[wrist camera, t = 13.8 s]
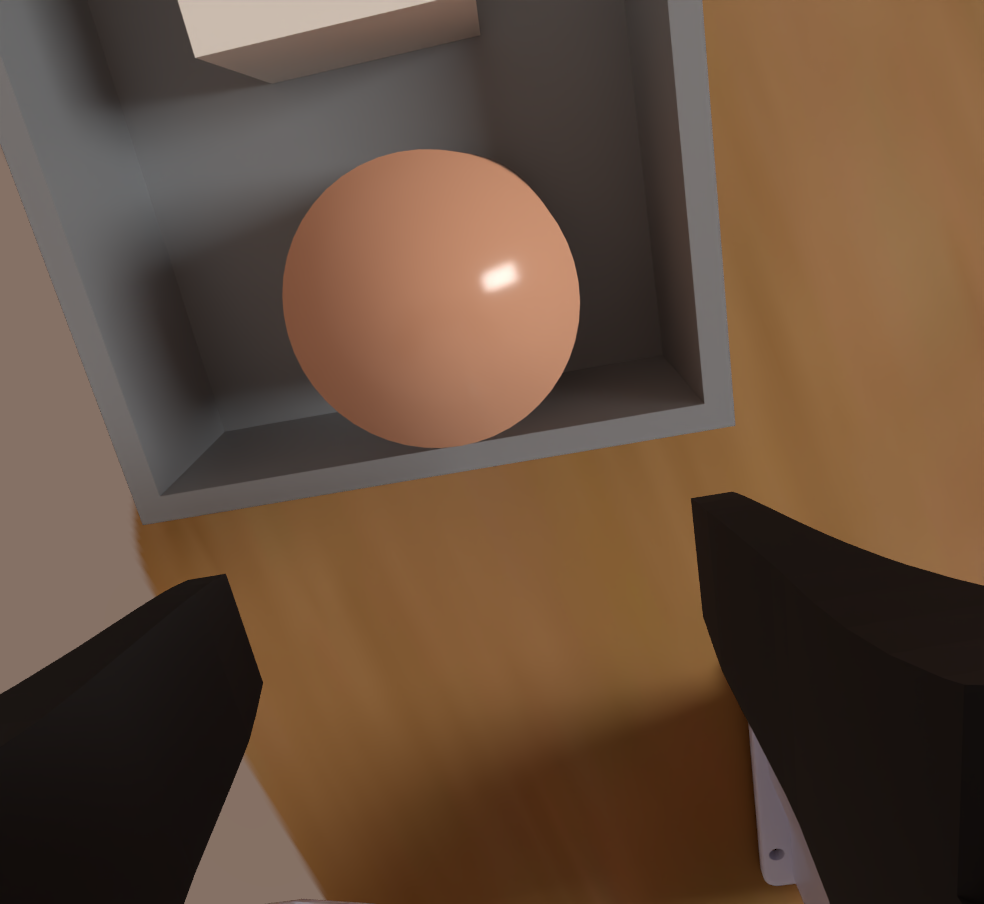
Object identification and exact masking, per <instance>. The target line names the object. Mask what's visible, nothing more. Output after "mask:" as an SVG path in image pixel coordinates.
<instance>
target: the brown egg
mask: <svg viewBox="0 0 984 904" xmlns="http://www.w3.org/2000/svg"><path fill="white" fill-rule="evenodd" d="M282 298H283V311H284V319H285V323H286V328H287V333H288V336H289V339H290V342H291V345H292V348H293V351H294V353H295V355H296V357H297V359H298V362H299V364H300V366H301V368H302V370H303V371H304V373H305V374H306V376H307V377H308V379H309V380H310V382H311V383H312V385H313V386H314V388H315V389H316V390H317V391H318V392H319V393H320V395H321V396H322V397H323V398H324V399H325V400H326V401H327V402H328V403H329V404H330V405H331V406H332V407H333V408H334V409H335V410H336V411H337V412H338V413H340V414H341V415H342V416H344V417H345V418H347V419H348V420H349V421H351V422H352V423H353V424H355V425H357V426H359V427H360V428H362V429H364V430H366V431H368V432H369V433H371V434H374V435H376V436H379V437H381V438H384V439H386V440H389V441H393V442H396V443H400V444H404V445H409V446H416V447H423V448H446V447H456V446H463V445H467V444H471V443H476V442H479V441H482V440H484V439H487V438H490V437H493V436H495V435H497V434H499V433H501V432H503V431H505V430H507V429H509V428H511V427H512V426H513V425H515V424H516V423H518V422H519V421H521V420H522V419H524V418H525V417H526V416H527V415H528V414H530V413H531V412H532V411H533V410H534V409H535V408H536V407H537V406H538V405H539V404H540V403H541V402H542V401H543V400H544V399H545V397H546V396H547V395H548V394H549V393H550V392H551V390H552V389H553V387H554V386H555V384H556V383H557V381H558V380H559V378H560V376H561V375H562V373H563V371H564V369H565V367H566V364H567V362H568V360H569V358H570V355H571V352H572V349H573V346H574V343H575V340H576V334H577V329H578V324H579V311H580V295H579V282H578V277H577V272H576V268H575V263H574V260H573V257H572V254H571V251H570V248H569V246H568V243H567V241H566V239H565V237H564V235H563V233H562V231H561V229H560V227H559V225H558V224H557V222H556V221H555V219H554V218H553V216H552V215H551V214H550V212H549V211H548V209H547V208H546V206H545V205H544V204H543V202H542V201H541V199H540V198H539V197H538V195H537V194H536V193H535V191H534V190H533V189H532V188H531V187H530V186H529V184H528V183H527V182H526V181H525V180H524V179H523V178H521V177H520V176H519V175H518V174H517V173H515V172H514V171H513V170H511V169H510V168H508V167H506V166H505V165H503V164H501V163H499V162H497V161H495V160H493V159H490V158H487V157H484V156H480V155H477V154H470V153H464V152H455V151H447V150H431V149H417V150H409V151H401V152H396V153H392V154H388V155H385V156H381V157H378V158H375V159H373V160H371V161H368V162H366V163H364V164H362V165H359V166H358V167H356V168H354V169H353V170H351V171H350V172H348V173H346V174H345V175H343V176H342V177H340V178H339V179H338V180H337V181H336V182H334V183H333V184H332V185H331V186H330V187H328V188H327V189H326V190H325V191H324V192H323V193H322V195H321V196H320V197H319V198H318V199H317V200H316V201H315V202H314V203H313V205H312V206H311V208H310V209H309V211H308V212H307V214H306V215H305V217H304V218H303V220H302V221H301V223H300V225H299V227H298V229H297V231H296V234H295V236H294V238H293V240H292V243H291V246H290V249H289V252H288V255H287V259H286V265H285V270H284V276H283V293H282Z"/></svg>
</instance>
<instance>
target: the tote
mask: <svg viewBox="0 0 984 904" xmlns="http://www.w3.org/2000/svg"><path fill="white" fill-rule="evenodd" d="M476 5H477V13H478V20H479V28H480V35H479V36H475V37H470V38H466V39H462V40H457V41H453V42H449V43H445V44H440V45H436V46H432V47H427V48H423V49H419V50H415V51H410V52H406V53H402V54H397V55H393V56H389V57H385V58H380V59H376V60H372V61H367V62H363V63H359V64H355V65H350V66H346V67H342V68H337V69H333V70H329V71H325V72H320V73H316V74H312V75H307V76H303V77H299V78H294V79H290V80H286V81H282V82H277V83H273V84H271V83H268V82H265V81H262V80H259V79H256V78H254V77H251V76H248V75H245V74H242V73H239V72H236V71H233V70H230V69H227V68H224V67H221V66H218V65H215V64H212V63H209V62H206V61H203V60H200V59H197V58H195V56H194V53H193V49H192V46H191V43H190V39H189V36H188V33H187V30H186V26H185V23H184V20H183V16H182V13H181V10H180V7H179V3H178V0H0V145H1V147H2V150H3V153H4V155H5V158H6V161H7V163H8V166H9V169H10V171H11V174H12V177H13V179H14V182H15V185H16V187H17V190H18V192H19V195H20V198H21V201H22V203H23V206H24V209H25V211H26V214H27V217H28V219H29V222H30V225H31V227H32V230H33V233H34V235H35V238H36V241H37V243H38V246H39V249H40V251H41V254H42V257H43V259H44V262H45V265H46V267H47V270H48V273H49V275H50V278H51V281H52V283H53V286H54V289H55V291H56V294H57V296H58V299H59V302H60V305H61V307H62V310H63V313H64V315H65V318H66V321H67V323H68V326H69V329H70V331H71V334H72V337H73V340H74V342H75V345H76V348H77V350H78V353H79V356H80V358H81V361H82V363H83V366H84V369H85V371H86V374H87V377H88V380H89V382H90V385H91V388H92V390H93V393H94V396H95V398H96V401H97V404H98V406H99V409H100V412H101V414H102V417H103V419H104V422H105V425H106V428H107V430H108V433H109V436H110V438H111V441H112V443H113V446H114V449H115V452H116V454H117V457H118V460H119V462H120V465H121V468H122V470H123V473H124V476H125V478H126V481H127V484H128V486H129V489H130V492H131V494H132V497H133V500H134V502H135V505H136V508H137V511H138V513H139V516H140V519H141V521H142V524H143V525H146V524H152V523H158V522H164V521H170V520H176V519H182V518H188V517H194V516H200V515H206V514H212V513H218V512H224V511H230V510H236V509H242V508H248V507H254V506H260V505H266V504H272V503H278V502H283V501H289V500H295V499H301V498H307V497H313V496H319V495H325V494H331V493H337V492H343V491H349V490H355V489H361V488H367V487H373V486H379V485H385V484H391V483H397V482H403V481H409V480H415V479H420V478H426V477H432V476H438V475H444V474H450V473H456V472H462V471H468V470H474V469H480V468H486V467H492V466H498V465H504V464H510V463H516V462H522V461H528V460H534V459H540V458H546V457H551V456H557V455H563V454H569V453H575V452H581V451H587V450H593V449H599V448H605V447H611V446H617V445H623V444H629V443H635V442H641V441H647V440H653V439H659V438H665V437H671V436H677V435H683V434H688V433H694V432H700V431H706V430H712V429H718V428H724V427H730V426H735V416H734V403H733V390H732V378H731V365H730V352H729V339H728V326H727V313H726V301H725V288H724V275H723V262H722V249H721V236H720V224H719V211H718V198H717V185H716V172H715V160H714V147H713V134H712V121H711V108H710V95H709V83H708V70H707V57H706V44H705V31H704V18H703V6H702V0H476ZM417 149H431V150H447V151H455V152H464V153H470V154H477V155H480V156H484V157H487V158H490V159H493V160H495V161H497V162H499V163H501V164H503V165H505V166H506V167H508V168H510V169H511V170H513V171H514V172H515V173H517V174H518V175H519V176H520V177H521V178H523V179H524V180H525V181H526V182H527V183H528V184H529V186H530V187H531V188H532V189H533V190H534V191H535V193H536V194H537V195H538V197H539V198H540V199H541V201H542V202H543V204H544V205H545V206H546V208H547V209H548V211H549V212H550V214H551V215H552V216H553V218H554V219H555V221H556V222H557V224H558V225H559V227H560V229H561V231H562V233H563V235H564V237H565V239H566V241H567V243H568V246H569V248H570V251H571V254H572V257H573V260H574V263H575V268H576V272H577V277H578V282H579V295H580V311H579V324H578V329H577V334H576V340H575V343H574V346H573V349H572V352H571V355H570V358H569V360H568V362H567V364H566V367H565V369H564V371H563V373H562V375H561V376H560V378H559V380H558V381H557V383H556V384H555V386H554V387H553V389H552V390H551V392H550V393H549V394H548V395H547V396H546V397H545V399H544V400H543V401H542V402H541V403H540V404H539V405H538V406H537V407H536V408H535V409H534V410H533V411H532V412H531V413H530V414H528V415H527V416H526V417H525V418H524V419H522V420H521V421H519V422H518V423H516V424H515V425H513V426H512V427H511V428H509V429H507V430H505V431H503V432H501V433H499V434H497V435H495V436H493V437H490V438H487V439H484V440H482V441H479V442H476V443H471V444H467V445H463V446H456V447H446V448H423V447H416V446H409V445H404V444H400V443H396V442H393V441H389V440H386V439H384V438H381V437H379V436H376V435H374V434H371V433H369V432H368V431H366V430H364V429H362V428H360V427H359V426H357V425H355V424H353V423H352V422H351V421H349V420H348V419H347V418H345V417H344V416H342V415H341V414H340V413H338V412H337V411H336V410H335V409H334V408H333V407H332V406H331V405H330V404H329V403H328V402H327V401H326V400H325V399H324V398H323V397H322V396H321V395H320V393H319V392H318V391H317V390H316V389H315V388H314V386H313V385H312V383H311V382H310V380H309V379H308V377H307V376H306V374H305V373H304V371H303V370H302V368H301V366H300V364H299V362H298V359H297V357H296V355H295V353H294V351H293V348H292V345H291V342H290V339H289V336H288V333H287V328H286V323H285V319H284V311H283V298H282V293H283V276H284V270H285V265H286V259H287V255H288V252H289V249H290V246H291V243H292V240H293V238H294V236H295V234H296V231H297V229H298V227H299V225H300V223H301V221H302V220H303V218H304V217H305V215H306V214H307V212H308V211H309V209H310V208H311V206H312V205H313V203H314V202H315V201H316V200H317V199H318V198H319V197H320V196H321V195H322V193H323V192H324V191H325V190H326V189H327V188H328V187H330V186H331V185H332V184H333V183H334V182H336V181H337V180H338V179H339V178H340V177H342V176H343V175H345V174H346V173H348V172H350V171H351V170H353V169H354V168H356V167H358V166H359V165H362V164H364V163H366V162H368V161H371V160H373V159H375V158H378V157H381V156H385V155H388V154H392V153H396V152H401V151H409V150H417Z"/></svg>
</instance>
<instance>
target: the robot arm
mask: <svg viewBox="0 0 984 904" xmlns="http://www.w3.org/2000/svg"><path fill="white" fill-rule="evenodd" d="M691 504H692V513H693V523H694V533H695V543H696V552H697V562H698V572H699V582H700V592H701V601H702V611H703V617H704V620H705V623H706V626H707V629H708V632H709V635H710V638H711V641H712V644H713V647H714V650H715V652H716V655H717V658H718V661H719V664H720V666H721V669H722V672H723V674H724V676H725V678H726V680H727V682H728V684H729V686H730V688H731V690H732V692H733V693H734V695H735V697H736V699H737V701H738V703H739V705H740V707H741V709H742V711H743V713H744V715H745V717H746V719H747V721H748V725H749V737H750V749H751V761H752V773H753V784H754V796H755V808H756V820H757V832H758V844H759V856H760V868H761V872H762V875H763V877H764V880H765V881H766V882H767V883H768V884H770V885H773V886H781V885H789V884H796V885H797V888H798V890H799V893H800V895H801V897H802V900H803V902H804V904H984V586H983V585H978V584H974V583H970V582H966V581H962V580H958V579H954V578H950V577H947V576H943V575H940V574H936V573H933V572H930V571H926V570H923V569H919V568H916V567H912V566H909V565H906V564H903V563H900V562H897V561H894V560H891V559H888V558H885V557H882V556H879V555H877V554H874V553H872V552H869V551H866V550H864V549H861V548H858V547H856V546H853V545H851V544H848V543H845V542H843V541H841V540H838V539H836V538H834V537H831V536H829V535H827V534H824V533H822V532H820V531H818V530H815V529H813V528H811V527H809V526H807V525H804V524H802V523H800V522H798V521H796V520H794V519H792V518H789V517H787V516H785V515H783V514H781V513H779V512H777V511H775V510H773V509H771V508H769V507H767V506H764V505H762V504H760V503H758V502H756V501H754V500H752V499H750V498H747V497H745V496H743V495H740V494H738V493H735V492H727V493H721V494H715V495H709V496H703V497H697V498H691ZM262 685H263V681H262V678H261V675H260V672H259V669H258V667H257V664H256V661H255V658H254V655H253V652H252V649H251V646H250V643H249V640H248V637H247V634H246V631H245V628H244V626H243V623H242V620H241V617H240V614H239V611H238V608H237V605H236V602H235V599H234V596H233V593H232V590H231V588H230V585H229V582H228V579H227V576H226V574H222V575H216V576H210V577H204V578H197V579H191V580H187V581H185V582H183V583H181V584H178V585H176V586H174V587H172V588H170V589H169V590H167V591H165V592H163V593H162V594H160V595H158V596H157V597H155V598H153V599H152V600H150V601H148V602H147V603H145V604H144V605H142V606H140V607H139V608H137V609H136V610H134V611H133V612H131V613H130V614H128V615H126V616H125V617H123V618H122V619H120V620H119V621H117V622H116V623H114V624H113V625H111V626H110V627H108V628H106V629H105V630H103V631H102V632H100V633H99V634H97V635H96V636H94V637H93V638H91V639H90V640H88V641H86V642H85V643H83V644H82V645H80V646H79V647H77V648H76V649H74V650H72V651H71V652H69V653H68V654H66V655H64V656H63V657H61V658H60V659H58V660H56V661H55V662H53V663H51V664H50V665H48V666H46V667H45V668H43V669H42V670H40V671H38V672H37V673H35V674H34V675H32V676H30V677H29V678H27V679H25V680H24V681H22V682H20V683H19V684H17V685H16V686H14V687H12V688H10V689H9V690H7V691H5V692H3V693H2V694H0V904H184V902H185V899H186V897H187V894H188V891H189V888H190V886H191V883H192V880H193V877H194V875H195V872H196V869H197V867H198V865H199V862H200V860H201V858H202V855H203V853H204V850H205V848H206V846H207V843H208V841H209V838H210V836H211V833H212V831H213V829H214V826H215V824H216V821H217V819H218V817H219V814H220V812H221V809H222V806H223V805H224V802H225V800H226V797H227V795H228V792H229V790H230V788H231V785H232V783H233V780H234V778H235V775H236V773H237V770H238V768H239V765H240V762H241V760H242V758H243V755H244V753H245V750H246V747H247V745H248V742H249V739H250V736H251V732H252V728H253V724H254V720H255V717H256V712H257V708H258V703H259V699H260V694H261V690H262ZM774 849H777V850H774ZM772 850H774V851H772ZM269 904H373V903H357V902H342V901H326V900H311V899H299V900H292V901H284V902H277V903H269Z"/></svg>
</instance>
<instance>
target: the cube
mask: <svg viewBox="0 0 984 904" xmlns="http://www.w3.org/2000/svg"><path fill="white" fill-rule="evenodd" d="M178 3H179V7H180V10H181V13H182V16H183V20H184V23H185V26H186V30H187V33H188V36H189V39H190V43H191V46H192V49H193V53H194V56H195V58H197V59H200V60H203V61H206V62H209V63H212V64H215V65H218V66H221V67H224V68H227V69H230V70H233V71H236V72H239V73H242V74H245V75H248V76H251V77H254V78H256V79H259V80H262V81H265V82H268V83H271V84H273V83H277V82H282V81H286V80H290V79H294V78H299V77H303V76H307V75H312V74H316V73H320V72H325V71H329V70H333V69H337V68H342V67H346V66H350V65H355V64H359V63H363V62H367V61H372V60H376V59H380V58H385V57H389V56H393V55H397V54H402V53H406V52H410V51H415V50H419V49H423V48H427V47H432V46H436V45H440V44H445V43H449V42H453V41H457V40H462V39H466V38H470V37H475V36H479V35H480V28H479V20H478V13H477V5H476V0H178Z"/></svg>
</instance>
